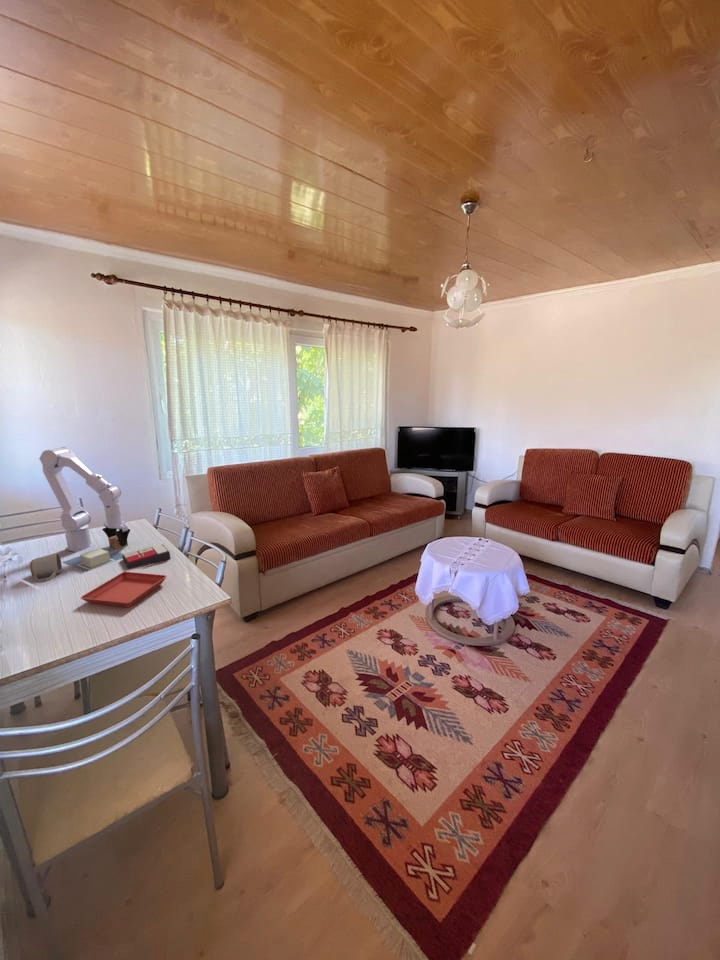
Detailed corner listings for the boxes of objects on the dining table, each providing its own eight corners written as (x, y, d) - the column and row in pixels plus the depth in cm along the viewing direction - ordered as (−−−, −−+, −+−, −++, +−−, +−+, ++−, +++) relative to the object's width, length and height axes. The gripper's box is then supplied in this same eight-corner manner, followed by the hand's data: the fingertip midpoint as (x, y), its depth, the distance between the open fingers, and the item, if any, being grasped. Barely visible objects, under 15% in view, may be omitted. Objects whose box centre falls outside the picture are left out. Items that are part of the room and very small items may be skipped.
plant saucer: (129, 612, 119) (128, 602, 118) (80, 606, 122) (78, 597, 122) (169, 583, 136) (167, 575, 135) (125, 579, 140) (123, 571, 139)
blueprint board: (62, 563, 153) (62, 562, 153) (104, 549, 167) (104, 547, 166) (86, 573, 144) (86, 571, 144) (129, 556, 158) (128, 555, 158)
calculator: (121, 553, 153) (161, 542, 163) (123, 563, 155) (163, 551, 164) (126, 562, 145) (169, 549, 154) (129, 572, 146) (171, 559, 156)
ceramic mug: (36, 574, 144) (31, 555, 142) (63, 568, 148) (59, 550, 147) (30, 586, 136) (25, 566, 134) (59, 580, 140) (55, 560, 138)
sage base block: (81, 564, 150) (79, 554, 150) (100, 557, 156) (98, 548, 156) (91, 568, 147) (89, 558, 146) (110, 561, 153) (108, 551, 152)
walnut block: (110, 548, 167) (108, 537, 166) (121, 544, 171) (119, 534, 170) (116, 550, 165) (114, 539, 164) (128, 546, 169) (126, 536, 168)
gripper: (132, 514, 165) (137, 543, 168) (113, 509, 171) (118, 538, 175) (116, 518, 159) (121, 549, 162) (96, 514, 165) (101, 543, 169)
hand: (118, 544), depth 168 cm, fingers open, 7 cm apart
